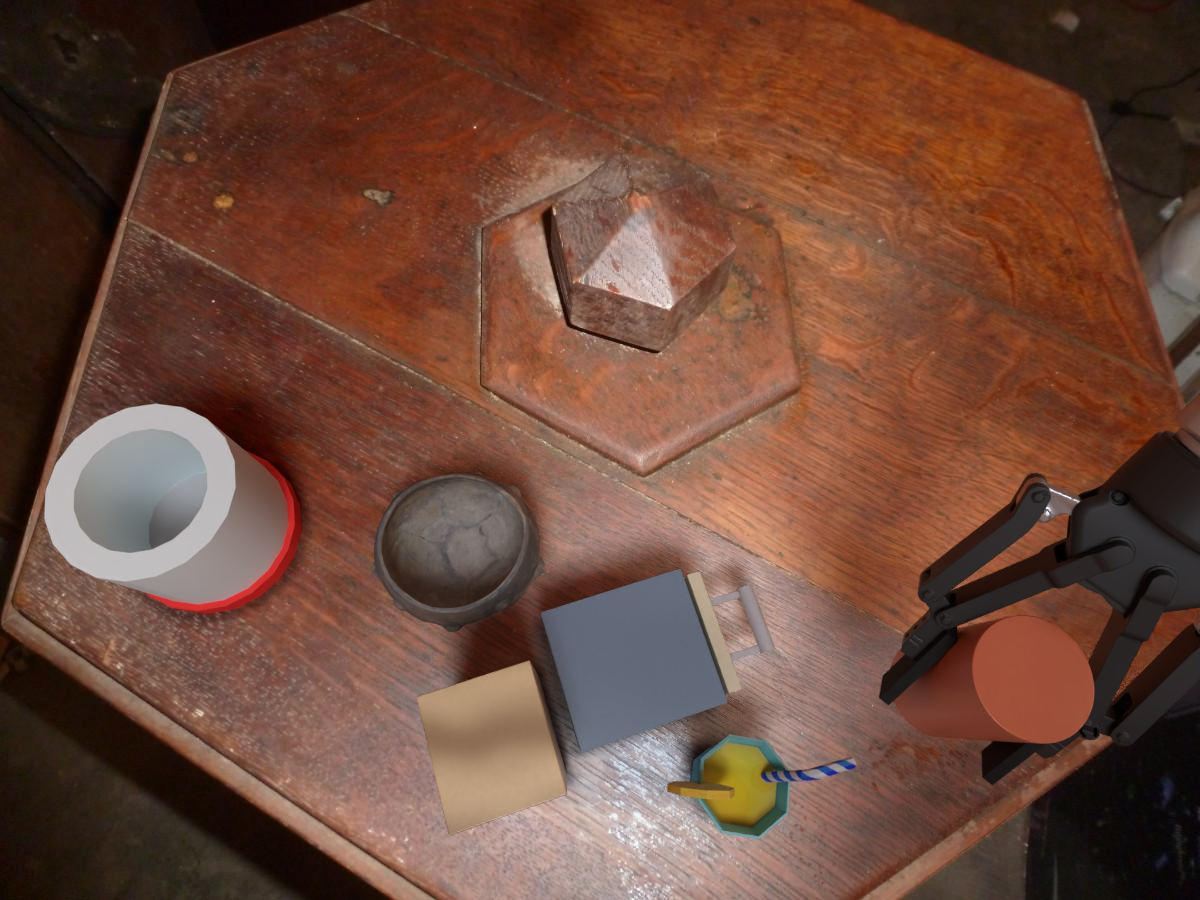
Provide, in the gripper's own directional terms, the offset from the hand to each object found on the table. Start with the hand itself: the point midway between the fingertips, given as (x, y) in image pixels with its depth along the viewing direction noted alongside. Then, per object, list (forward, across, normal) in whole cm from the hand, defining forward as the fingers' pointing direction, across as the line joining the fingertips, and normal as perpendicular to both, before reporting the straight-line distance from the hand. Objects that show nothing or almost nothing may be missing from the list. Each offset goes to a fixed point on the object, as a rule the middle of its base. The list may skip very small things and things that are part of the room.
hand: (935, 728), depth 51 cm
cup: (+23, +5, -10) cm, 25 cm away
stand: (+30, +22, -3) cm, 37 cm away
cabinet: (+21, +18, -11) cm, 30 cm away
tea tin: (0, 0, -5) cm, 5 cm away
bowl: (+23, +36, -10) cm, 44 cm away
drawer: (+18, +16, -13) cm, 27 cm away
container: (+32, +57, -1) cm, 65 cm away
